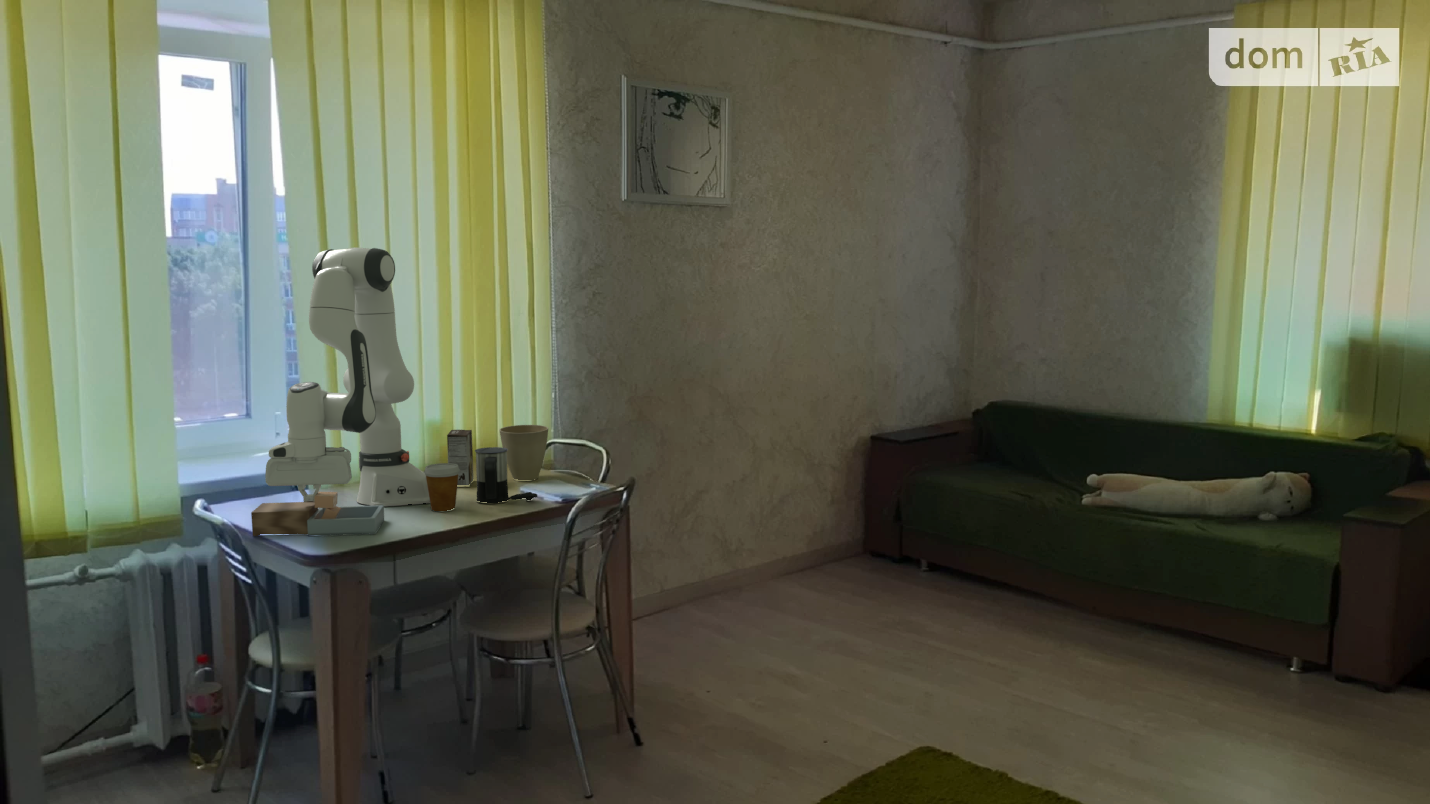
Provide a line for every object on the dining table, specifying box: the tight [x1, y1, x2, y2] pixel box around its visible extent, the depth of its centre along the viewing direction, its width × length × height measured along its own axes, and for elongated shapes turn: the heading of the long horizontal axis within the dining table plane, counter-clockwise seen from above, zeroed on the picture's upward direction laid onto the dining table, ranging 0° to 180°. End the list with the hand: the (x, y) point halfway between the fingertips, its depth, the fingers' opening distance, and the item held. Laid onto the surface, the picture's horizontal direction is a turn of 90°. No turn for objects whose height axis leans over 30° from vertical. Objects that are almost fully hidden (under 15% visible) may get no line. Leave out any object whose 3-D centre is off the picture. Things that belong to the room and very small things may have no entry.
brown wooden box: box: [250, 501, 319, 537], centre depth 267 cm, size 14×10×6 cm
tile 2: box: [321, 505, 341, 519], centre depth 268 cm, size 4×5×3 cm
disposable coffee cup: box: [423, 462, 460, 512], centre depth 288 cm, size 10×10×12 cm
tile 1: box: [315, 491, 338, 509], centre depth 267 cm, size 4×5×3 cm
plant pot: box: [499, 424, 549, 481], centre depth 327 cm, size 15×15×16 cm
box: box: [307, 505, 385, 536], centre depth 269 cm, size 16×14×4 cm
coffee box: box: [446, 429, 475, 485], centre depth 319 cm, size 9×6×16 cm
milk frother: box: [474, 446, 538, 503], centre depth 297 cm, size 14×16×15 cm
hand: (310, 501), depth 267 cm, fingers closed
